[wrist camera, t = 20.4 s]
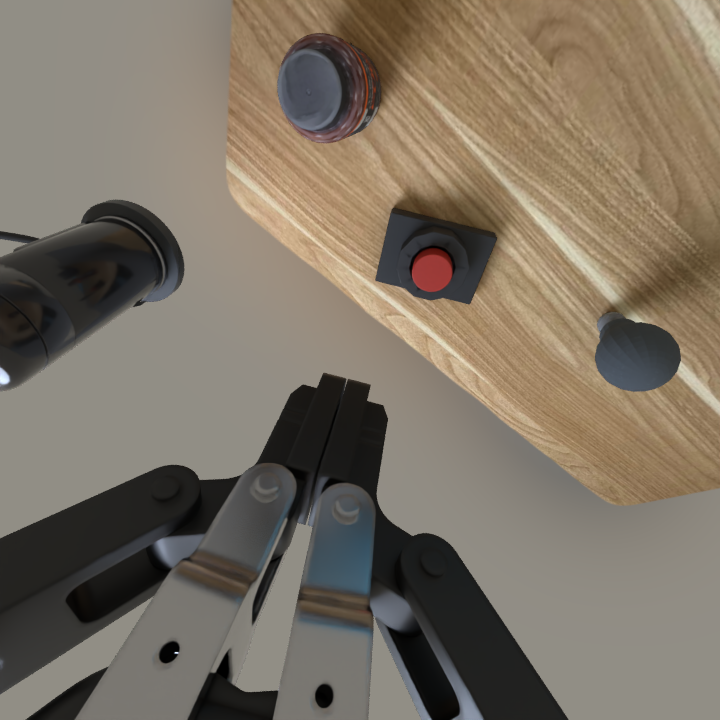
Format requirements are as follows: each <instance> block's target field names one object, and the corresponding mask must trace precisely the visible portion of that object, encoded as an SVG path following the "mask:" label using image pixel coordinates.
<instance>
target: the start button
mask: <svg viewBox="0 0 720 720" xmlns="http://www.w3.org/2000/svg"><path fill="white" fill-rule="evenodd" d="M412 278H413V281H414V283H415V284H416V285H417V286H418V287H419V288H420V289H422V290H424V291H428V292H435V291H439V290H441V289H443V288H444V287H446V286H447V285H448V283H449V282H450V280H451V278H452V261H451V259H450V257H449V255H448V254H447V253H446V252H445V251H443V250H441V249H438V248H429V249H426V250H423V251H422V252H420V253H419V254H418V255H417V257H416V258H415V260H414V263H413V269H412Z"/></svg>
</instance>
